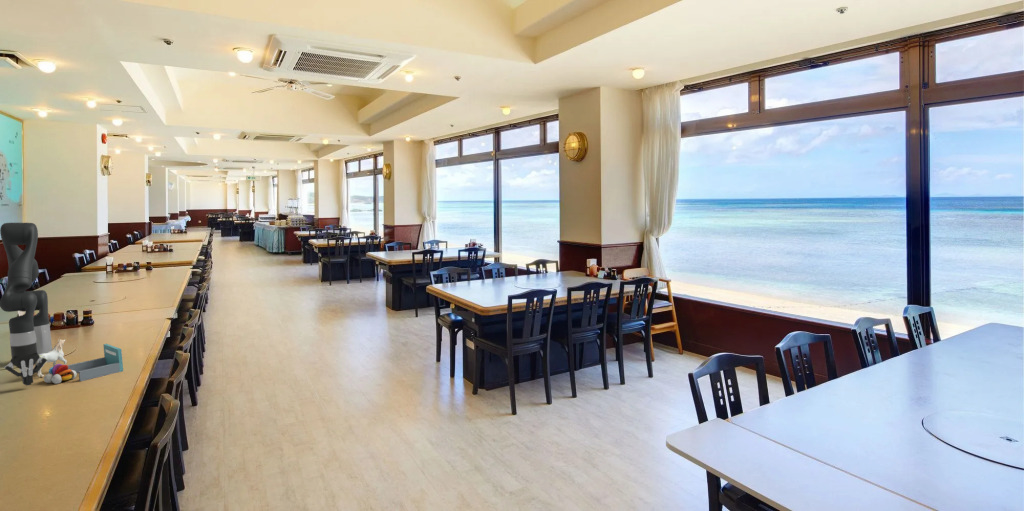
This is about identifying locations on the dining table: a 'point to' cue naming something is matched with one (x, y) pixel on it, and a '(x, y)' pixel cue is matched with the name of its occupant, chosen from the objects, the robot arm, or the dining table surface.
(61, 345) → the unicorn figurine
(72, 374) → the white-wheeled rainbow disc toy
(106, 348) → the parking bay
